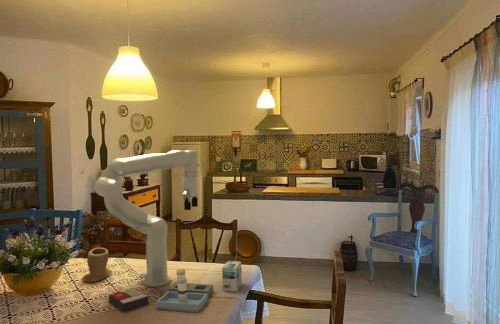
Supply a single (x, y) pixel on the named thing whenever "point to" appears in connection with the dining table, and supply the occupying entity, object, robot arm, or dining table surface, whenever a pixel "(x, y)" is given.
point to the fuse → (180, 274)
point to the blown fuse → (182, 290)
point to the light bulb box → (232, 276)
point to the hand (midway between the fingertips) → (191, 208)
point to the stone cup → (97, 264)
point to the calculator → (128, 300)
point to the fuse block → (194, 288)
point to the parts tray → (171, 303)
